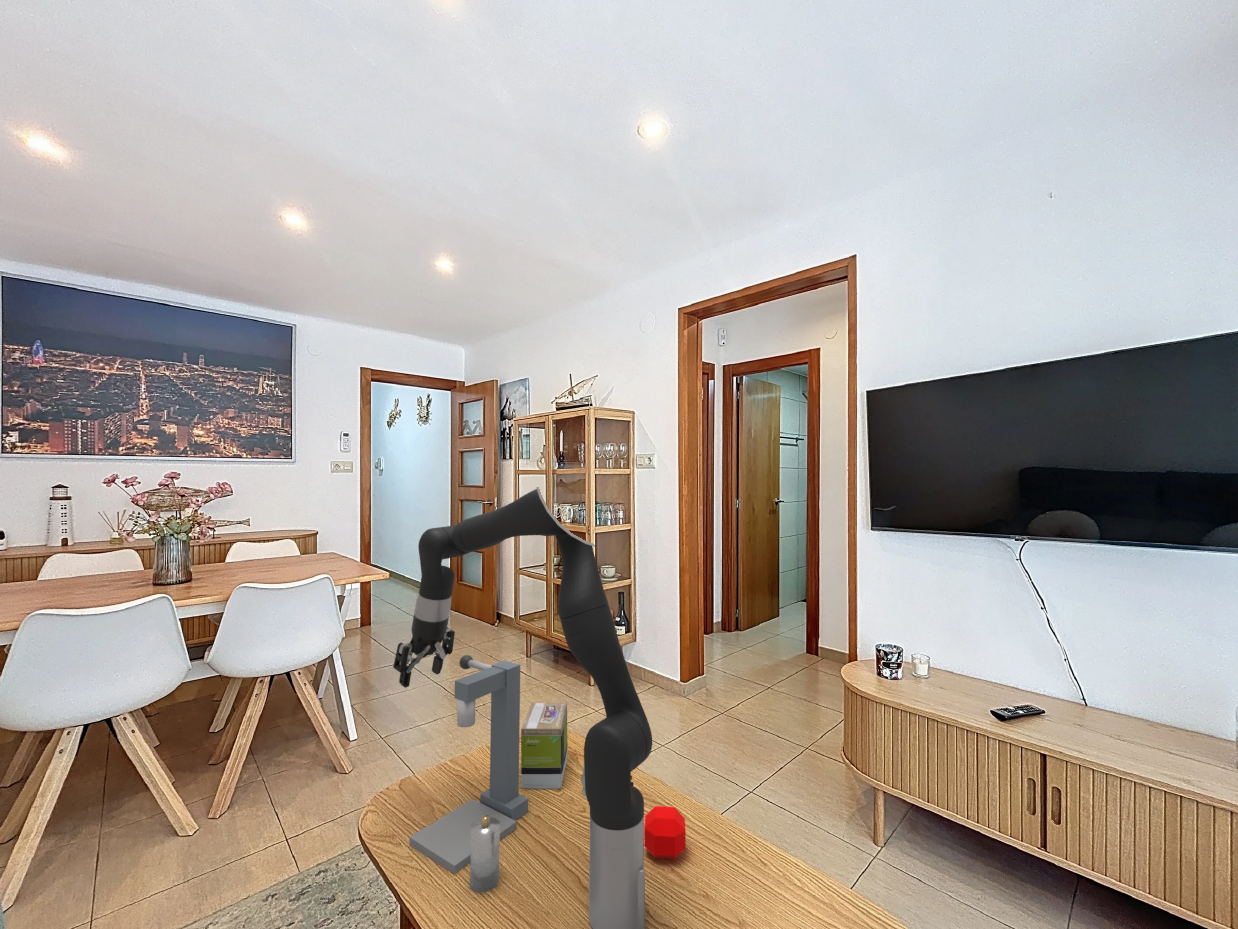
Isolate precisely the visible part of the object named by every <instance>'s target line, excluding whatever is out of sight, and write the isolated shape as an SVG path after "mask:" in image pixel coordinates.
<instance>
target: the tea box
mask: <svg viewBox="0 0 1238 929" xmlns="http://www.w3.org/2000/svg"><path fill="white" fill-rule="evenodd" d="M568 750H569V746H568V703H567V702H538V703H537V702H531V704H530V706H529V708H528V711H527V714H526V717H525V719H524V721H523V724H522V727H520V783H521V784H520V785H521V786H520V788H521V789H522V790H524V789H525V790H560V789H562V786H563V781H564V776H565V771H566V767H567V762H568V755H569V754H568Z"/></svg>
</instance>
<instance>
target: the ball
mask: <svg viewBox="0 0 1238 929" xmlns="http://www.w3.org/2000/svg"><path fill="white" fill-rule="evenodd" d="M686 831H687V830H686V818H685V817H684V816H683V815H682V814H681V812H680V811H679V810H678V809H677V808H676V807H675V806H661V805H659V806H658V805H655V806H654V807H653V808H651V810H650V811H648V813H647V814H645V815H644V848H645V849H646V850H648V852H649V853H650V854H651V855H652V856H653V857H654V858H656V859H667V858H670V859H671V860H676V858H677V857H678V856H679V855H681V853H683V852H684V851H685V850H686V841H687V840H686V833H687V832H686ZM670 859H669V860H670Z"/></svg>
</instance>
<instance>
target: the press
mask: <svg viewBox="0 0 1238 929" xmlns="http://www.w3.org/2000/svg"><path fill="white" fill-rule="evenodd" d="M459 666H460V668H461V669H463V670H469V669H475V670H478V672H475V673H472V674H469V675H466V676H464V677H462V678H459V679H455V680H454V699H455V700H457V708H456V710H457V712H456V713H457V714H456V715H457V716H456V725H457V727H458V728H470V727H472V726H474V725H475V723H476V700H477V699H480V698H482V697H484V696H487V695H489V694H490V695H491V696H490V740H489V741H490V742H489V744H490V747H489V748H490V749H489V751H490V755H489V788H487V789H486V790H483V792H481V793H480V794H479V795H480V796H479V798H480V799H479V800H480V801H478V800H476V799H475V798H471V799H469V800H468V801H466V802H465V803H463V804H461V805H460V806H458V807H457V808H455V809H453V810H451V811H450V812H449V813H447V814H445V815H443V816H442V817H441V818H439V819H437V820H435V821H434V822H432V823H431V824H429V825H427V826H426V827H423V828H422V829H421V830H419V831H417V832H416V833H414V834H412V835H411V836H409V846H411V847H412V848H414V850H416V851H418V852H419V853H421V854H423V855H425V856H426V857H428V858H429V859H430V860H432V861H433V862H435V863H436V864H438V865H440V866H441V867H443V868H444V869H445V870H447V871H449V872H451V873H452V874H453V875H455V874H457V873H459V872H460V871H461V870H462V869H463V868H465V867H467V865H470V844H471V825H472V824H473V823H474V822H475V821H476V820H478V819H481V818H482V816H483V815H489V817H493V818H496V819H497V820H498V821H499V822H500V841H501V840H503V839H504V838H506V837H507V836H509V835H510V834H512V833H513V832H514V831H515V830H517V828H518V827H517V825H518V823H517V821H518V820H520V818H522V817H523V816H525V815H526V814H527V813H529V798H528V797H526V796H524V795H522V794H521V793H519V791H520V790H519V788H520V785H519V784H520V783H519V782H520V779H519V778H520V775H519V774H520V730H521V727H520V726H521V725H520V724H521V721H520V720H521V718H520V717H521V716H520V715H521V714H520V712H521V709H520V708H521V706H520V705H521V664H520V663H515V662H512V661H508V660H503V661H499V662H497V663H494V664H492V665H490V664H487V663H483V662H481V661H477V660H474V658H473V656H472V655H468V654H465V655H463V656H461V657H460V659H459Z"/></svg>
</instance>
